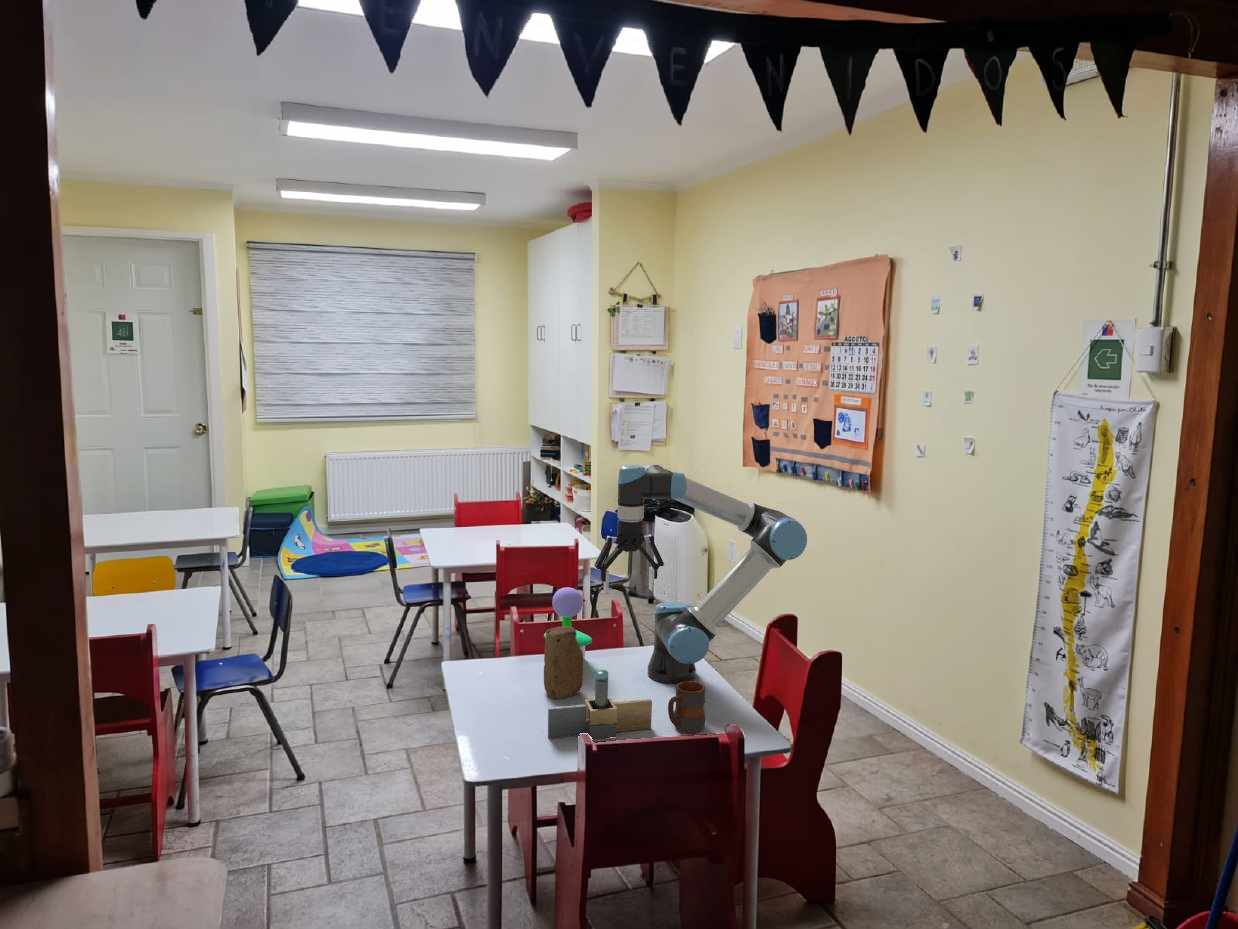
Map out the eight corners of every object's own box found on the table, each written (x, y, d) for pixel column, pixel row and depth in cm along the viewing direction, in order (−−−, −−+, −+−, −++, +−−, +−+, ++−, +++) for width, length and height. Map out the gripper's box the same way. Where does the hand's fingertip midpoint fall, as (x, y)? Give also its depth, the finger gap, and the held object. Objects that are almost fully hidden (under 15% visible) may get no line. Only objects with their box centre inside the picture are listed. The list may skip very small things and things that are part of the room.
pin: (605, 729, 231) (606, 669, 228) (608, 735, 228) (609, 674, 225) (592, 730, 230) (594, 670, 227) (595, 736, 227) (597, 675, 224)
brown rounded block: (551, 701, 248) (551, 635, 245) (541, 691, 254) (542, 626, 251) (585, 695, 252) (586, 630, 250) (575, 686, 259) (576, 622, 256)
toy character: (598, 665, 276) (599, 589, 272) (567, 674, 268) (569, 596, 264) (568, 651, 288) (570, 578, 284) (538, 659, 280) (539, 585, 276)
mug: (657, 728, 232) (658, 687, 230) (690, 717, 239) (691, 677, 238) (678, 741, 225) (680, 698, 224) (711, 729, 233) (713, 688, 231)
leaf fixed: (610, 726, 233) (610, 697, 232) (616, 738, 226) (617, 708, 225) (545, 731, 229) (546, 702, 228) (550, 744, 222) (550, 714, 221)
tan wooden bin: (646, 721, 235) (647, 694, 234) (654, 733, 229) (655, 705, 227) (584, 727, 231) (584, 699, 230) (589, 739, 224) (590, 711, 223)
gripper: (668, 515, 253) (665, 585, 256) (585, 517, 247) (584, 589, 250) (676, 520, 246) (673, 592, 249) (590, 523, 239) (589, 597, 242)
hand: (628, 591), depth 249 cm, fingers open, 13 cm apart
